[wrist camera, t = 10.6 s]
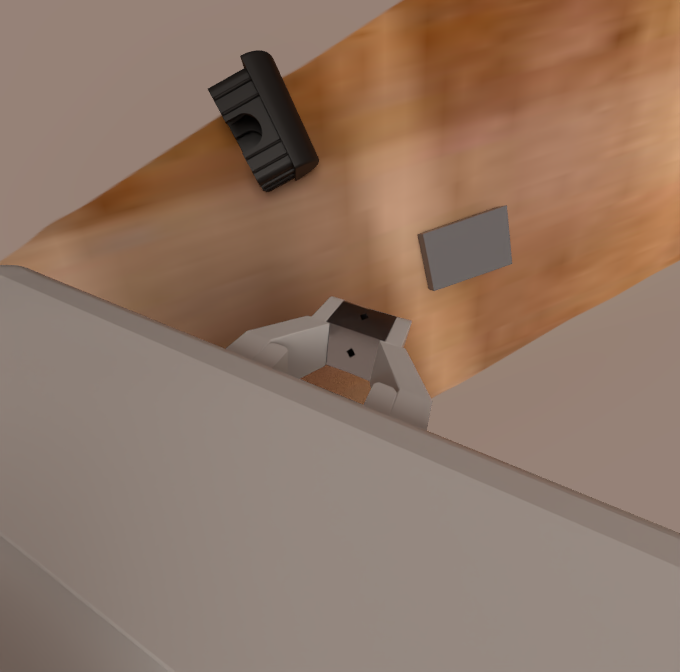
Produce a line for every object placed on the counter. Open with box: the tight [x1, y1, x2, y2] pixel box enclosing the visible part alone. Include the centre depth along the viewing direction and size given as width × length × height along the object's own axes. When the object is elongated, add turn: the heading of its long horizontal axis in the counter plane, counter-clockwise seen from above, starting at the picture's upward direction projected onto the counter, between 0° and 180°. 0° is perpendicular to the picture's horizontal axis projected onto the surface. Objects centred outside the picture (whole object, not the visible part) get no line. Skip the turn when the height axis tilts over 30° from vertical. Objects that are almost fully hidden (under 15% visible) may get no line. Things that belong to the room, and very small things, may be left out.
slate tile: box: [418, 205, 512, 291], centre depth 40 cm, size 2×8×12 cm
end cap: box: [208, 51, 319, 192], centre depth 30 cm, size 10×7×7 cm
